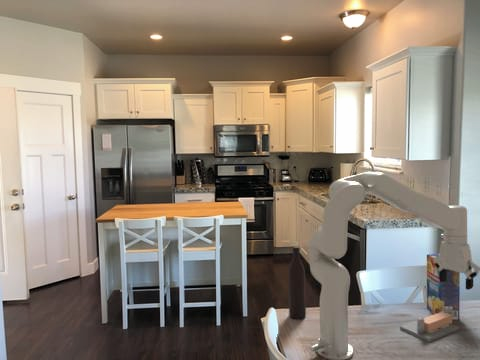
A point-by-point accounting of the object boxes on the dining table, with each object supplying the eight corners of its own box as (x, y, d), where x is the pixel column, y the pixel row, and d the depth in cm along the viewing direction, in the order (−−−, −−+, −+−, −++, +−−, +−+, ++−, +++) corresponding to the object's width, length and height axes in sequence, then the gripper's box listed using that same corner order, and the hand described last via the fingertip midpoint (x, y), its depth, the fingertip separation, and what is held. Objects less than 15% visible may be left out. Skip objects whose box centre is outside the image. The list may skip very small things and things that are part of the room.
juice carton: (459, 319, 152) (459, 261, 151) (441, 319, 152) (441, 262, 151) (443, 307, 164) (443, 254, 163) (426, 308, 164) (426, 254, 163)
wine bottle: (306, 313, 162) (305, 245, 161) (305, 320, 155) (303, 249, 154) (290, 312, 164) (288, 245, 162) (288, 319, 157) (286, 248, 155)
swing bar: (428, 331, 138) (428, 323, 138) (418, 327, 142) (418, 320, 142) (452, 322, 145) (452, 315, 145) (442, 318, 149) (442, 311, 149)
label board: (428, 341, 135) (428, 324, 134) (400, 329, 145) (399, 313, 145) (458, 329, 143) (458, 313, 143) (429, 318, 154) (429, 303, 153)
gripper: (427, 236, 142) (427, 280, 143) (473, 245, 127) (474, 294, 128) (439, 234, 146) (439, 277, 147) (486, 241, 131) (486, 289, 132)
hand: (455, 285), depth 138 cm, fingers open, 9 cm apart
